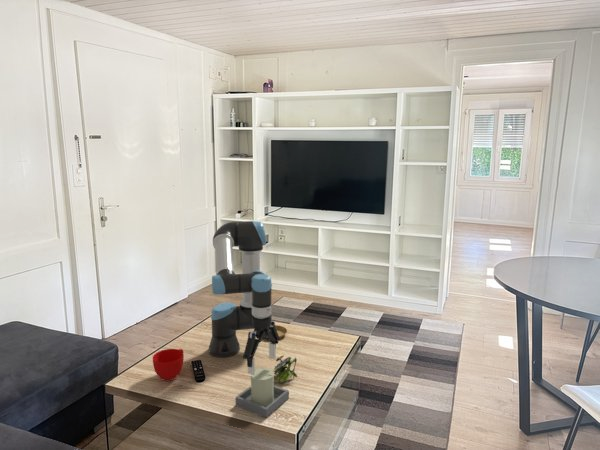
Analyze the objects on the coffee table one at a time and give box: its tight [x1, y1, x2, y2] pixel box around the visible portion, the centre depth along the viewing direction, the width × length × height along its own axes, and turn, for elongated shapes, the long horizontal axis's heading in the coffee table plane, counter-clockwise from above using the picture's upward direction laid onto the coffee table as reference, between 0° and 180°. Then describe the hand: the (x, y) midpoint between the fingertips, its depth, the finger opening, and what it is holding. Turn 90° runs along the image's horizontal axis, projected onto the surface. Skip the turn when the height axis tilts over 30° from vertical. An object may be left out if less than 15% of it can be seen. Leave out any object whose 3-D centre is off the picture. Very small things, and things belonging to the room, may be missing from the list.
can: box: [250, 367, 275, 407], centre depth 171 cm, size 9×9×12 cm
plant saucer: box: [265, 324, 288, 339], centre depth 233 cm, size 15×15×3 cm
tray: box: [235, 385, 290, 419], centre depth 172 cm, size 15×15×4 cm
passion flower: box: [273, 355, 298, 384], centre depth 190 cm, size 11×11×12 cm
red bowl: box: [152, 348, 185, 381], centre depth 191 cm, size 13×17×10 cm
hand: (262, 365), depth 170 cm, fingers open, 13 cm apart
